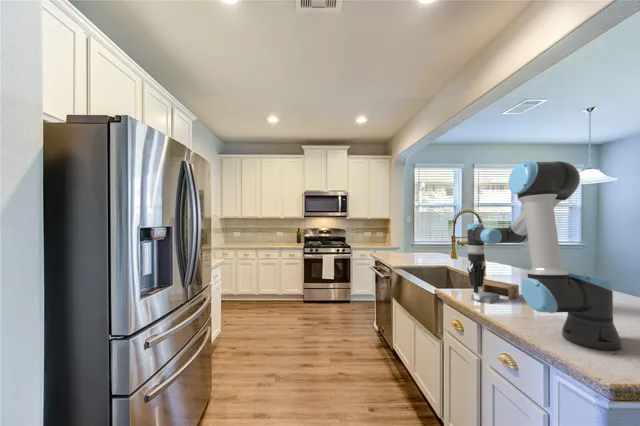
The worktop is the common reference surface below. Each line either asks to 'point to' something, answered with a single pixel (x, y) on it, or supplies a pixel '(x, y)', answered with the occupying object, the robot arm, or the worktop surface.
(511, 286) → the tan wooden channel
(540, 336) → the worktop surface
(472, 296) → the tile
